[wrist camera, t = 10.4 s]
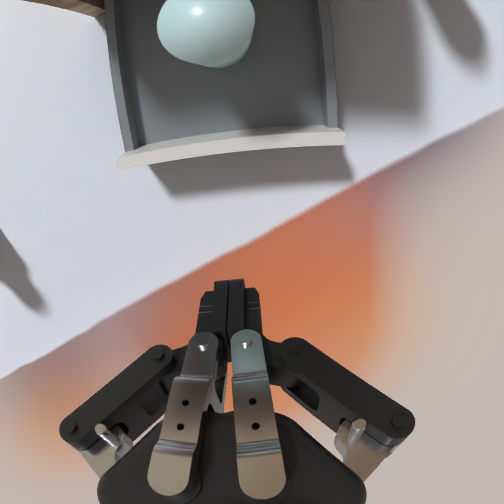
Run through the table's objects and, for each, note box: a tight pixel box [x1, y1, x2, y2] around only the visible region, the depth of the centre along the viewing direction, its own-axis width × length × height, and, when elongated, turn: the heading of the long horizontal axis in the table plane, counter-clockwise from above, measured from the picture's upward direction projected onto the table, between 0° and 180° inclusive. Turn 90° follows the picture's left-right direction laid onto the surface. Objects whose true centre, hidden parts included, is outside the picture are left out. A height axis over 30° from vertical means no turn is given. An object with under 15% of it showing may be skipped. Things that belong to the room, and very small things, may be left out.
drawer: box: [104, 0, 346, 171], centre depth 17 cm, size 17×17×4 cm
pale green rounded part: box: [157, 0, 255, 68], centre depth 14 cm, size 5×5×9 cm
